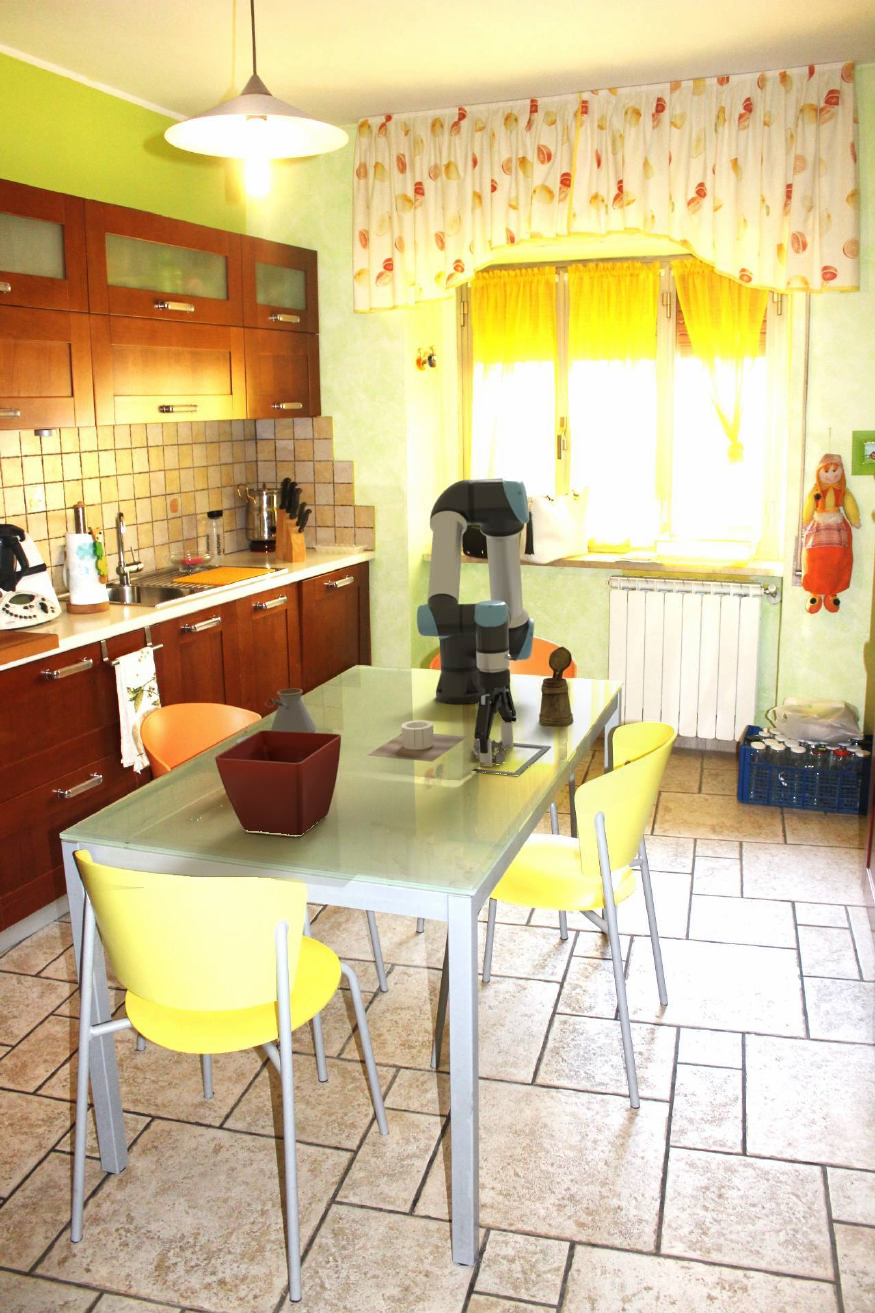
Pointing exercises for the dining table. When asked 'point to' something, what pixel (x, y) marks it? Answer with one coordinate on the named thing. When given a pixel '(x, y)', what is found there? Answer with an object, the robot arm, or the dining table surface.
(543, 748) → the mat border
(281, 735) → the plant pot
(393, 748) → the walnut board
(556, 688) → the wooden mug
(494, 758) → the egg carton
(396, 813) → the dining table surface
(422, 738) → the cream hollow cylinder
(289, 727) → the coffee pot
